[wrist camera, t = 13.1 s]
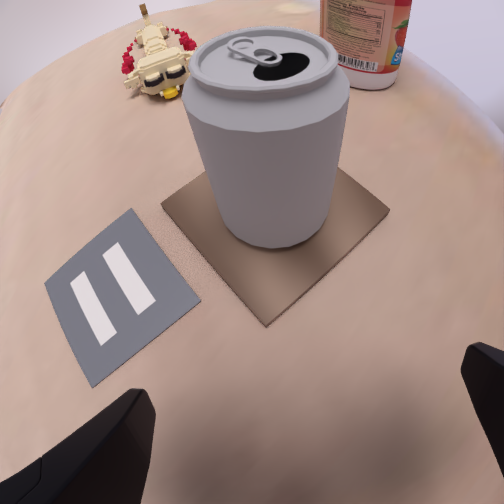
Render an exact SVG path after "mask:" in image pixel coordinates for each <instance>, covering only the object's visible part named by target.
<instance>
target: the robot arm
mask: <svg viewBox="0 0 504 504" xmlns="http://www.w3.org/2000/svg"><path fill="white" fill-rule="evenodd" d="M461 375H462V378H463V380H464V382H465V385H466V388H467V390H468V393H469V395H470V398H471V401H472V403H473V406H474V409H475V411H476V414H477V416H478V418H479V421H480V423H481V425H482V427H483V429H484V431H485V434H486V436H487V438H488V440H489V443H490V445H491V447H492V450H493V452H494V454H495V457H496V459H497V462H498V464H499V467H500V469H501V472H502V475H503V477H504V351H502V350H499V349H497V348H494V347H492V346H489V345H487V344H484V343H482V342H477V343H474V344H471V345H469V346H468V347H467V349H466V352H465V356H464V359H463V362H462V365H461ZM155 418H156V413H155V409H154V407H153V405H152V402H151V400H150V398H149V396H148V393H147V392H146V391H145V390H144V389H135V388H132V389H129V390H128V391H127V392H125V393H124V394H123V395H122V396H120V397H119V398H118V399H116V400H115V401H114V402H113V403H111V404H110V405H109V406H107V407H106V408H105V409H104V410H102V411H101V412H100V413H98V414H97V415H96V416H94V417H93V418H92V419H91V420H89V421H88V422H87V423H85V424H84V425H83V426H81V427H80V428H79V429H77V430H76V431H75V432H73V433H72V434H71V435H69V436H68V437H67V438H65V439H64V440H63V441H61V442H60V443H59V444H57V445H56V446H55V447H53V448H52V449H51V450H49V451H48V452H46V453H45V454H44V455H43V456H42V457H40V458H38V459H37V460H35V461H34V462H33V463H31V464H30V465H28V466H27V467H25V468H24V469H22V470H21V471H19V472H18V473H16V474H14V475H13V476H11V477H9V478H8V479H6V480H4V481H2V482H1V483H0V504H141V499H142V495H143V490H144V486H145V482H146V478H147V473H148V469H149V464H150V458H151V450H152V441H153V433H154V425H155Z"/></svg>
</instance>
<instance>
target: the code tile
mask: <svg viewBox="0 0 504 504" xmlns="http://www.w3.org/2000/svg"><path fill="white" fill-rule="evenodd" d="M44 284H45V286H46V289H47V292H48V295H49V297H50V300H51V302H52V305H53V308H54V310H55V313H56V315H57V317H58V320H59V322H60V324H61V327H62V329H63V331H64V334H65V336H66V338H67V340H68V342H69V344H70V347H71V349H72V351H73V353H74V355H75V357H76V359H77V361H78V363H79V365H80V367H81V369H82V371H83V373H84V374H85V376H86V378H87V380H88V382H89V384H90V385H91V387H92V388H93V387H95V386H96V385H97V384H98V383H100V382H101V381H102V380H103V379H105V378H106V377H107V376H108V375H110V374H111V373H112V372H113V371H115V370H116V369H117V368H118V367H120V366H121V365H122V364H123V363H125V362H126V361H127V360H129V359H130V358H131V357H132V356H134V355H135V354H136V353H137V352H139V351H140V350H141V349H142V348H144V347H145V346H146V345H147V344H149V343H150V342H151V341H152V340H153V339H155V338H156V337H157V336H158V335H160V334H161V333H162V332H163V331H165V330H166V329H167V328H168V327H170V326H171V325H172V324H173V323H175V322H176V321H177V320H178V319H180V318H181V317H182V316H183V315H185V314H186V313H187V312H188V311H190V310H191V309H192V308H193V307H195V306H196V305H197V304H198V303H199V302H201V300H200V299H199V298H198V296H197V295H196V294H195V293H194V291H193V290H192V289H191V288H190V286H189V285H188V284H187V282H186V281H185V280H184V279H183V277H182V276H181V275H180V273H179V272H178V271H177V269H176V268H175V267H174V266H173V264H172V263H171V262H170V260H169V259H168V258H167V256H166V255H165V254H164V252H163V251H162V250H161V248H160V247H159V246H158V244H157V243H156V242H155V240H154V239H153V237H152V236H151V235H150V233H149V232H148V231H147V229H146V228H145V226H144V225H143V224H142V222H141V221H140V219H139V218H138V217H137V215H136V214H135V212H134V211H133V209H132V208H130V209H129V210H128V211H127V212H125V213H124V214H123V215H122V216H120V217H119V218H118V219H117V220H115V221H114V222H113V223H112V224H110V225H109V226H108V227H107V228H105V229H104V230H103V231H102V232H101V233H99V234H98V235H97V236H96V237H95V238H94V239H92V240H91V241H90V242H89V243H88V244H87V245H85V246H84V247H83V248H82V249H81V250H80V251H79V252H77V253H76V254H75V255H74V256H73V257H72V258H71V259H70V260H68V261H67V262H66V263H65V264H64V265H63V266H62V267H61V268H60V269H59V270H58V271H56V272H55V273H54V274H53V275H52V276H51V277H50V278H49V279H48V280H47V281H46V282H45V283H44Z"/></svg>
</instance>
